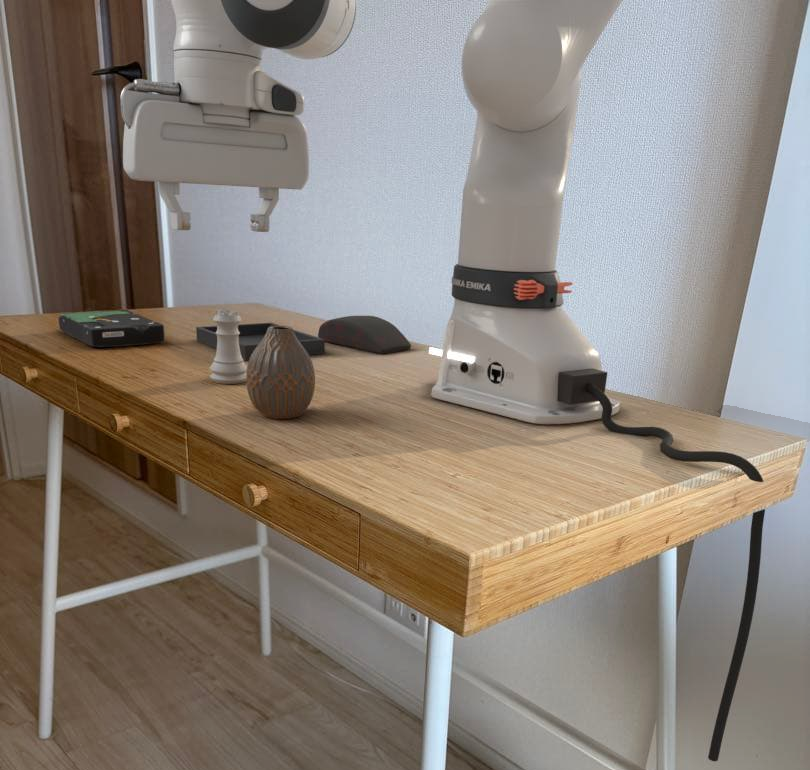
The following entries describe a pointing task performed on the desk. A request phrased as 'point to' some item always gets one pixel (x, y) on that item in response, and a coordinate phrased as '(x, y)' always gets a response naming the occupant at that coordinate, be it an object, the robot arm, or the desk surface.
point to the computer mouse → (364, 334)
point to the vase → (280, 375)
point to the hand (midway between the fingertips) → (221, 230)
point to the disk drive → (111, 328)
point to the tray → (258, 338)
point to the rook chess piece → (228, 350)
